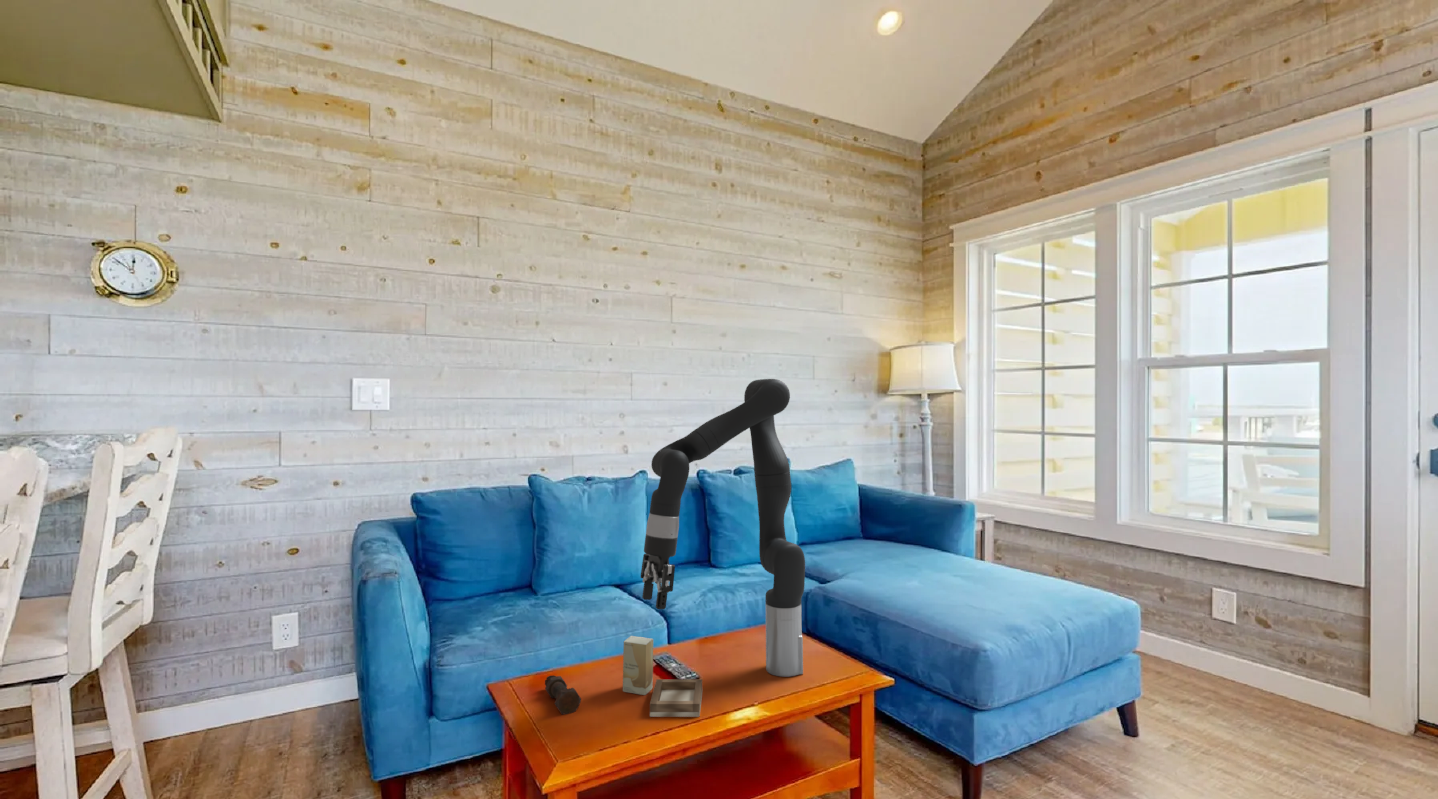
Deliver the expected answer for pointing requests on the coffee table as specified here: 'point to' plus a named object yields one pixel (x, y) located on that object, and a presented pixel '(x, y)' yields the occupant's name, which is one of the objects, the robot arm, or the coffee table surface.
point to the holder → (676, 698)
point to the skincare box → (638, 665)
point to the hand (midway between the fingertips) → (653, 603)
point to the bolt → (562, 694)
